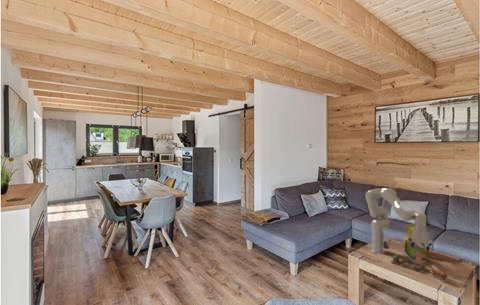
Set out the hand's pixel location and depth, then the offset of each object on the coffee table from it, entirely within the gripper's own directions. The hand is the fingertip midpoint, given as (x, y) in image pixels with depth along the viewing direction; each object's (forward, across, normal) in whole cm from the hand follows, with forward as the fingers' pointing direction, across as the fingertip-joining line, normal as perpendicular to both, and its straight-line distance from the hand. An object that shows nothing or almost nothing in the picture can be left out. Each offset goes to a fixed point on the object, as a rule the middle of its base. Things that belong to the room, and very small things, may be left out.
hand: (420, 248), depth 195 cm
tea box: (+18, -7, +19) cm, 28 cm away
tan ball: (+17, -13, 0) cm, 22 cm away
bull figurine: (+19, +12, -3) cm, 22 cm away
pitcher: (+18, -11, +37) cm, 43 cm away
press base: (+18, -8, 0) cm, 20 cm away
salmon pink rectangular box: (+17, -1, 0) cm, 17 cm away
